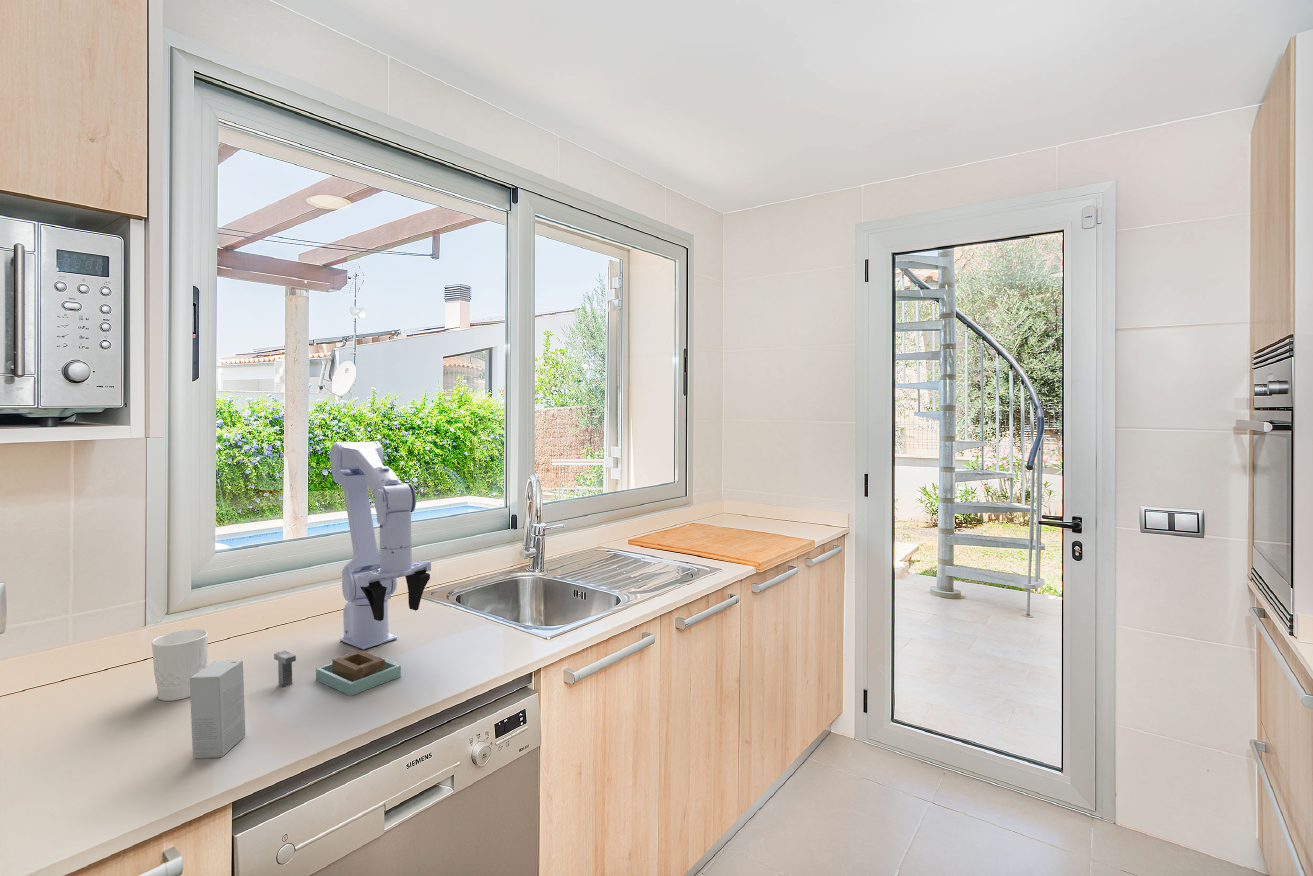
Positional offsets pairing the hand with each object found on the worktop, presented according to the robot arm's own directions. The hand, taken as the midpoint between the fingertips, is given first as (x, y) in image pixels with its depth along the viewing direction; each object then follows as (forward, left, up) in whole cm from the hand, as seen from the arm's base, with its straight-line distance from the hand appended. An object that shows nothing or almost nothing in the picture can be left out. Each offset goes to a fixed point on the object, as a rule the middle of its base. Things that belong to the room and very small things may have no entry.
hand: (396, 614), depth 122 cm
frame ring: (0, -8, -9) cm, 12 cm away
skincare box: (+6, -33, -10) cm, 35 cm away
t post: (-9, -17, -10) cm, 21 cm away
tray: (0, -8, -10) cm, 13 cm away
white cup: (-20, -29, -10) cm, 37 cm away
